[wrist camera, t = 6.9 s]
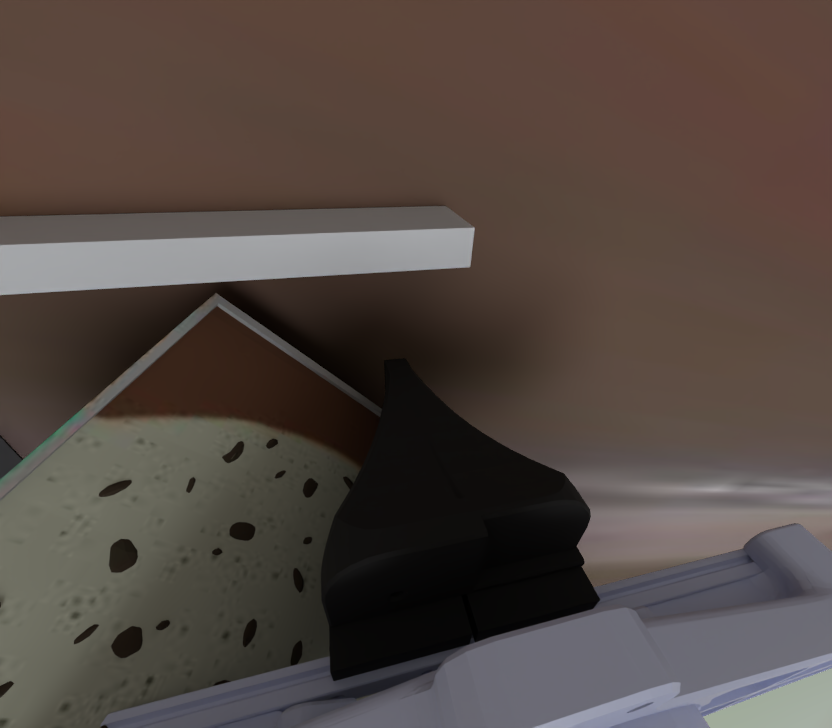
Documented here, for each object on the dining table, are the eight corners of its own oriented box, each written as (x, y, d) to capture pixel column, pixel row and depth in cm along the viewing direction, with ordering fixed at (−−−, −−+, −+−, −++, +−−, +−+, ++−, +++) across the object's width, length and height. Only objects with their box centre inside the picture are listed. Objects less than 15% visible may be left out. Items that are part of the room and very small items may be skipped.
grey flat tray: (428, 470, 18) (459, 572, 14) (45, 535, 15) (-55, 691, 11) (449, 148, 10) (537, 174, 6) (-385, 141, 7) (-1402, 185, 3)
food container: (94, 358, 12) (-415, 854, 5) (157, 252, 9) (-1071, 1267, 2) (364, 496, 18) (301, 809, 11) (462, 465, 15) (459, 883, 8)
